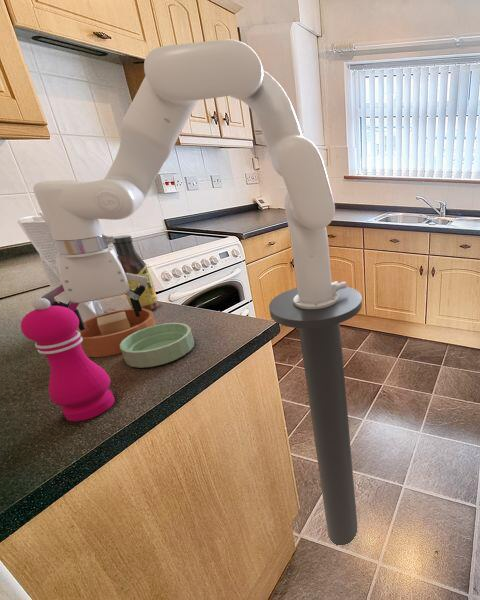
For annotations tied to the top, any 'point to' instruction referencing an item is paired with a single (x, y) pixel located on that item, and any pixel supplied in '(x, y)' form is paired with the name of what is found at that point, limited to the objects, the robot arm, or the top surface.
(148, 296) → the sauce bottle
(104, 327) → the beech block
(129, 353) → the dish
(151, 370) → the top surface
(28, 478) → the top surface
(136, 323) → the pan
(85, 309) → the skyscraper
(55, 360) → the pepper mill
